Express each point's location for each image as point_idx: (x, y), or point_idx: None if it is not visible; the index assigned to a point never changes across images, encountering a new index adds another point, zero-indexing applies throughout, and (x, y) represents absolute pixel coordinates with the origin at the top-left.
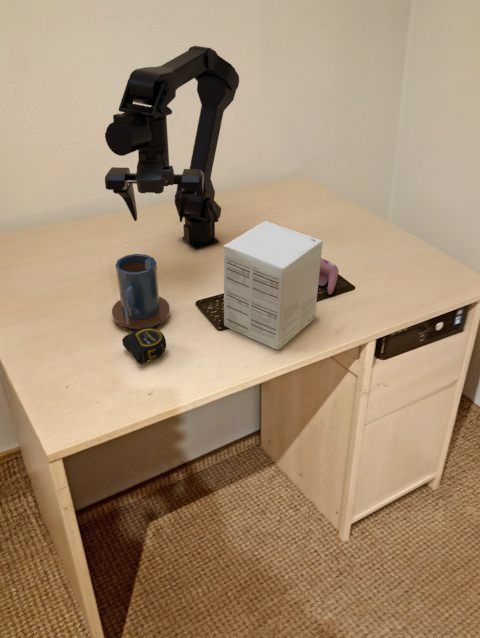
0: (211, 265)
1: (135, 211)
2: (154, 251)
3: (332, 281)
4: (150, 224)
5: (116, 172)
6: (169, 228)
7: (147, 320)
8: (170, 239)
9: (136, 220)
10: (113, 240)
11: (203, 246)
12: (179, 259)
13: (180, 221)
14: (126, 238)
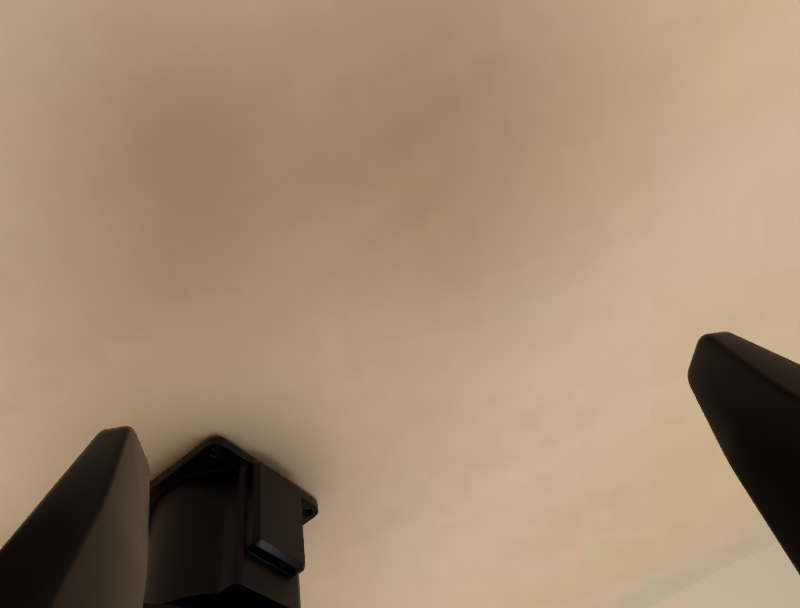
0: (57, 303)
1: (778, 435)
2: (438, 376)
3: None
4: (490, 564)
5: None
6: (400, 559)
7: None
8: (377, 486)
9: (702, 341)
10: (644, 422)
11: (178, 464)
12: (282, 330)
13: (119, 428)
14: (586, 449)
